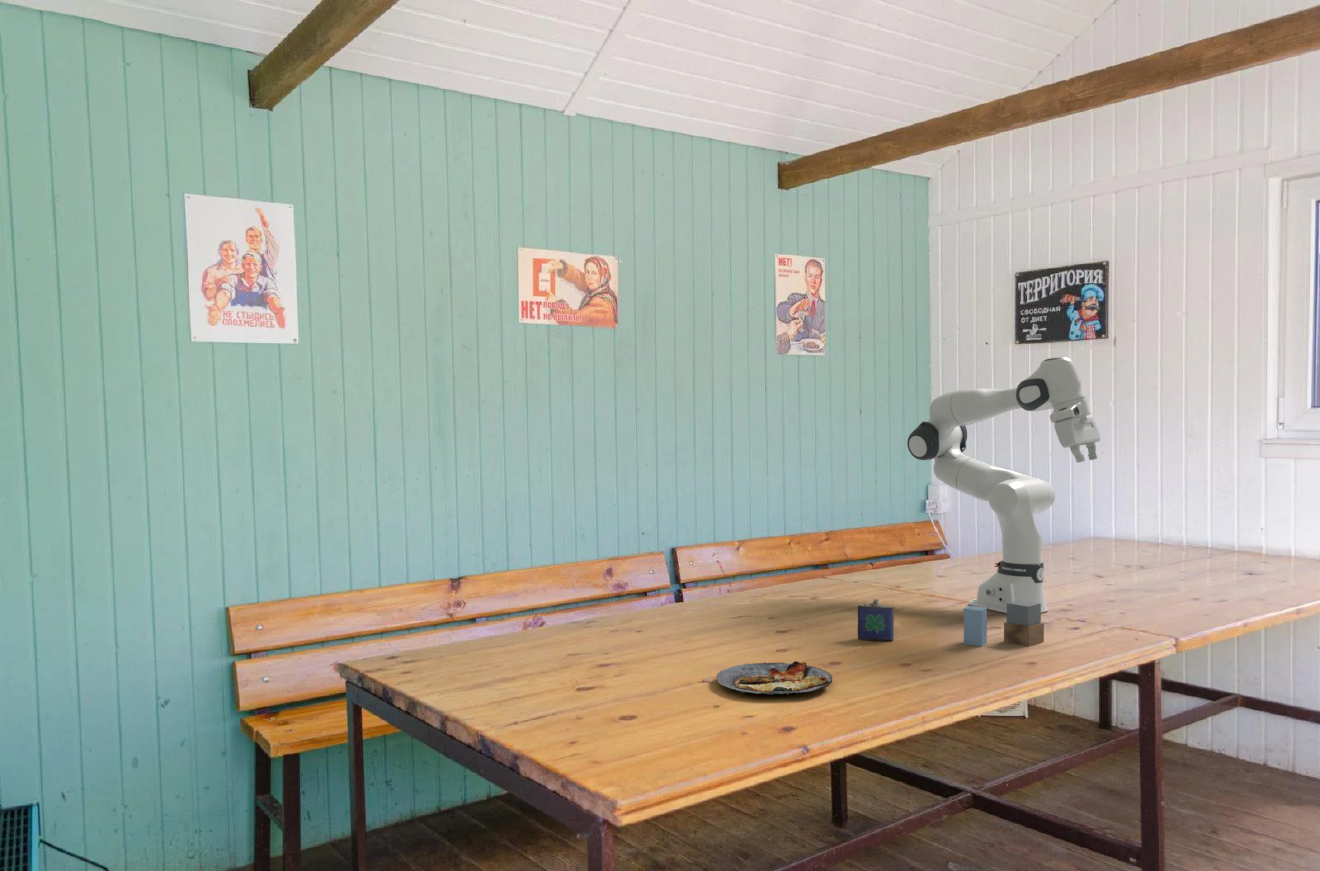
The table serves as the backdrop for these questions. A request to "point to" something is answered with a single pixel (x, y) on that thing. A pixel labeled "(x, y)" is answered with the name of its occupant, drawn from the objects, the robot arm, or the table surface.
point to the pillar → (975, 625)
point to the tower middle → (1023, 613)
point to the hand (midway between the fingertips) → (1087, 460)
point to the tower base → (1024, 634)
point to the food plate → (774, 678)
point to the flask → (875, 622)
